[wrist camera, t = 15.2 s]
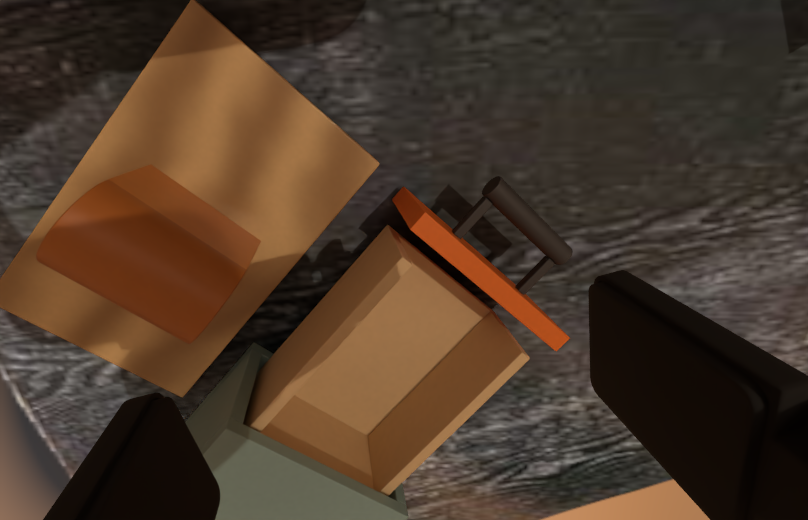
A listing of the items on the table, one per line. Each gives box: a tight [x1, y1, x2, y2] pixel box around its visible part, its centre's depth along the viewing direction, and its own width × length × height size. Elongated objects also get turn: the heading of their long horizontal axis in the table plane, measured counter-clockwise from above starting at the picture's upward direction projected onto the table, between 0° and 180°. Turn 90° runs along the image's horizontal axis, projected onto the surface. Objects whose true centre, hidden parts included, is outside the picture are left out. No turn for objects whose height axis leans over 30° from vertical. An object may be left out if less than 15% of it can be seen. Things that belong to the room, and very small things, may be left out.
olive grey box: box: [185, 343, 408, 520], centre depth 30 cm, size 19×14×9 cm
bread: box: [36, 164, 261, 344], centre depth 22 cm, size 8×5×8 cm, turn 48°
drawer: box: [243, 176, 572, 496], centre depth 27 cm, size 22×13×7 cm, turn 138°
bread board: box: [0, 0, 379, 397], centre depth 26 cm, size 13×22×2 cm, turn 138°
